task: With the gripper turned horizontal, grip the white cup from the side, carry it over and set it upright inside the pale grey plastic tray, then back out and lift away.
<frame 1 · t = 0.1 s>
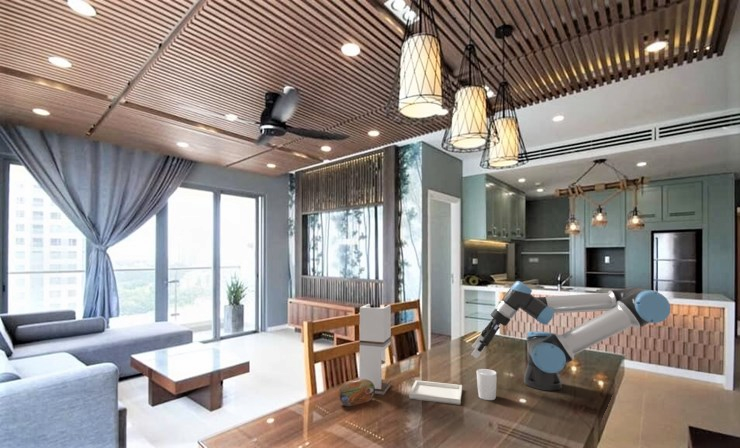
hand: (474, 352, 159), 15 cm above the table, tool tilted 35°, fingers open, 13 cm apart
tray: (436, 394, 151), on the table
white tall box: (375, 388, 157), on the table
white cup: (486, 397, 148), on the table
tin: (356, 403, 142), on the table
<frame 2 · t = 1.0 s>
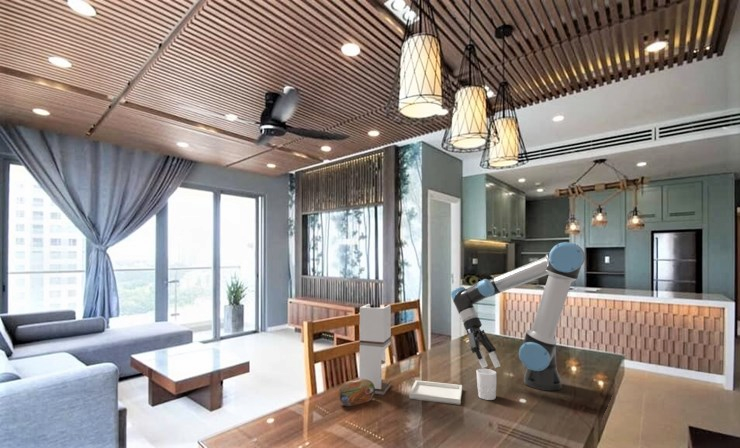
hand: (491, 367, 154), 10 cm above the table, tool tilted 35°, fingers open, 13 cm apart
nothing on the table moved.
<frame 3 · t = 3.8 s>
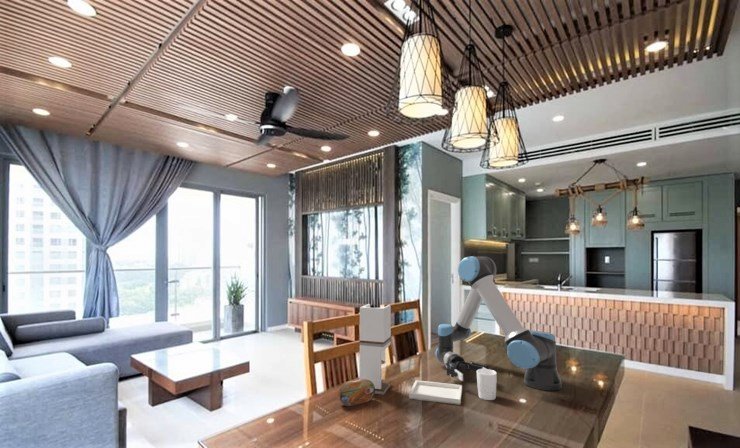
hand: (476, 376, 155), 6 cm above the table, tool horizontal, fingers open, 13 cm apart
nothing on the table moved.
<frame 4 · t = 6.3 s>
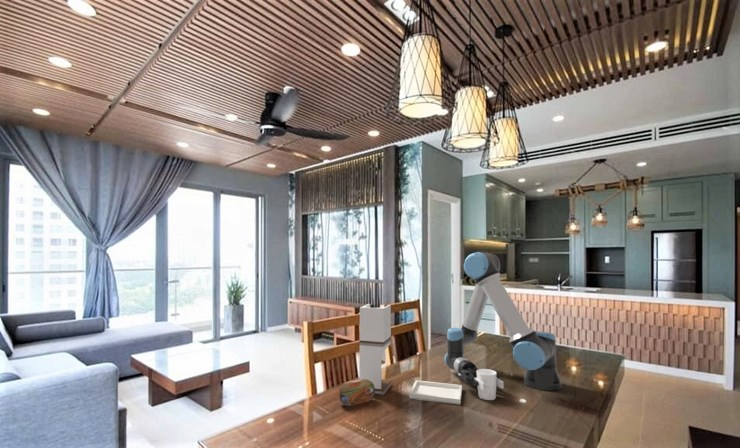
hand: (493, 386, 144), 6 cm above the table, tool horizontal, fingers closed on white cup, 7 cm apart
white cup: (487, 397, 148), on the table, touching gripper
everything else where it was.
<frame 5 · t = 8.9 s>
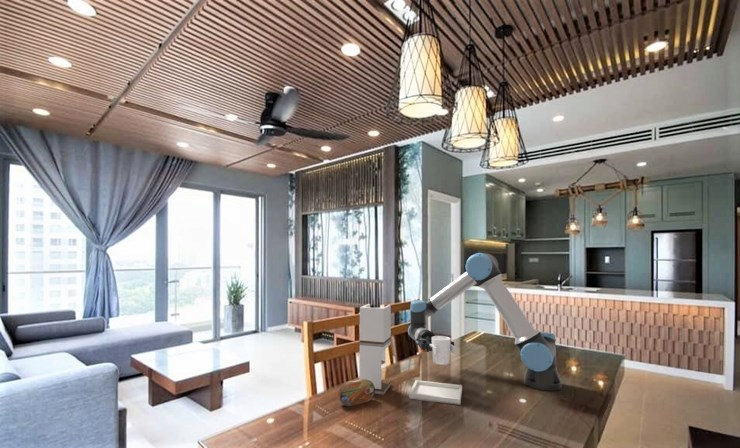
hand: (445, 350, 148), 19 cm above the table, tool horizontal, fingers closed on white cup, 7 cm apart
white cup: (440, 362, 152), point 12 cm above the table, touching gripper
everything else where it was.
when the fingers open (8 cm above the table, at t = 11.5 s): white cup drops 1 cm, resting on tray.
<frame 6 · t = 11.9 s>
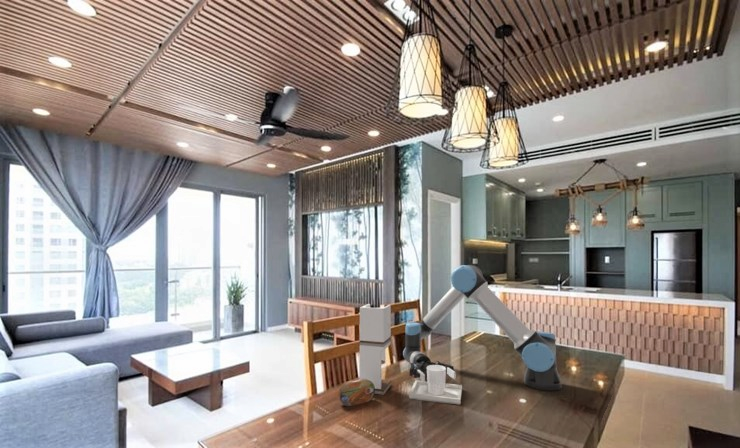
hand: (439, 377, 148), 8 cm above the table, tool horizontal, fingers open, 13 cm apart
white cup: (436, 393, 151), resting on tray
everything else where it was.
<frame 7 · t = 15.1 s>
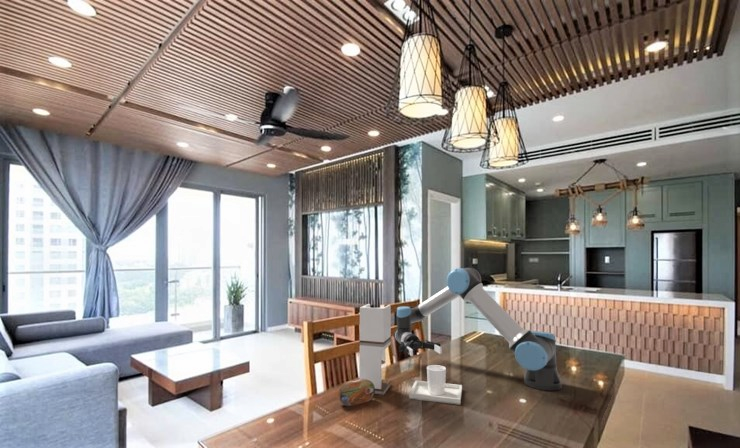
hand: (426, 352, 161), 14 cm above the table, tool horizontal, fingers open, 13 cm apart
nothing on the table moved.
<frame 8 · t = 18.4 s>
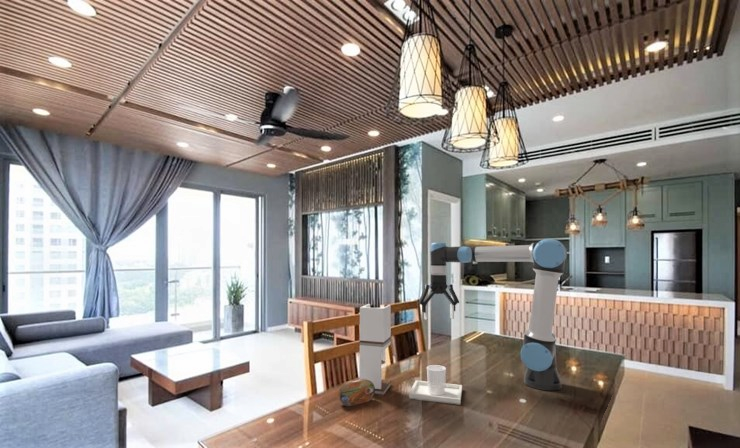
hand: (439, 318, 175), 27 cm above the table, tool pointing down, fingers open, 13 cm apart
nothing on the table moved.
at the end: white cup inside the target area on the tray (0.1 cm from its centre), point 0.4 cm above the tray's base; white cup tilted 0°; the gripper is holding nothing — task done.
